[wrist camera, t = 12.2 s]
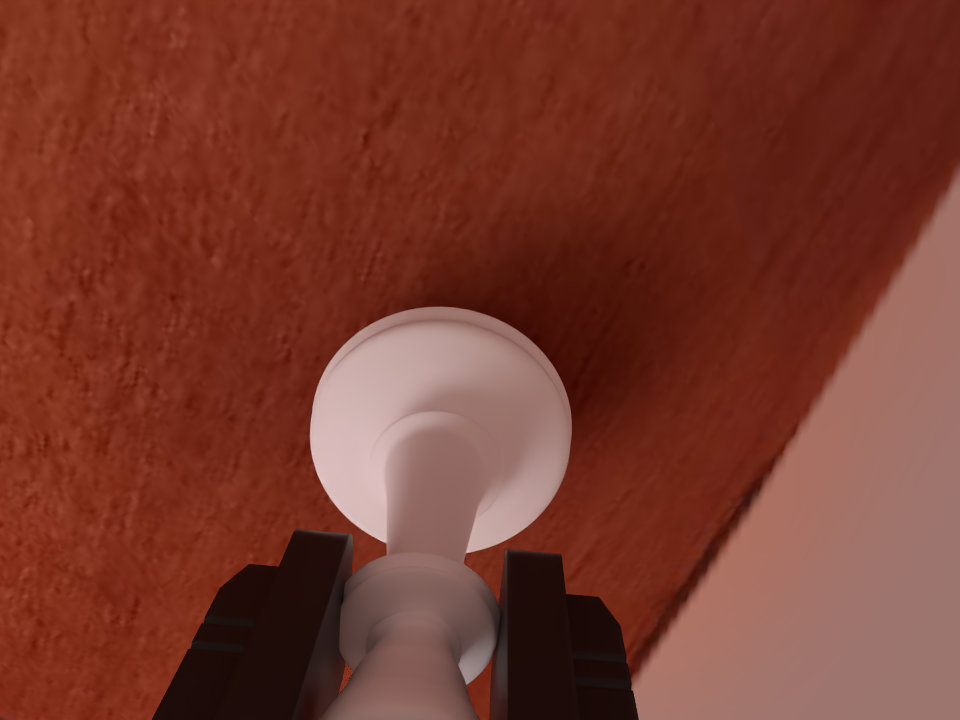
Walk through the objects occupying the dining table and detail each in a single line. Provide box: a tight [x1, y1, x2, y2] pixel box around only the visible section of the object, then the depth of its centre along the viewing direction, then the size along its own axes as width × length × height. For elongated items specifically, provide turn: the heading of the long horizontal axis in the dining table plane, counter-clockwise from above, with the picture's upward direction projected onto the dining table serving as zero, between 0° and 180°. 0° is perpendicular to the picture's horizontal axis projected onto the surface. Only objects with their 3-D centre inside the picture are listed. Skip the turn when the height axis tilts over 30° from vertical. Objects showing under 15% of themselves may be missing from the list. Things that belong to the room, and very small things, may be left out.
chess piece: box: [310, 307, 572, 720], centre depth 11 cm, size 5×5×10 cm
